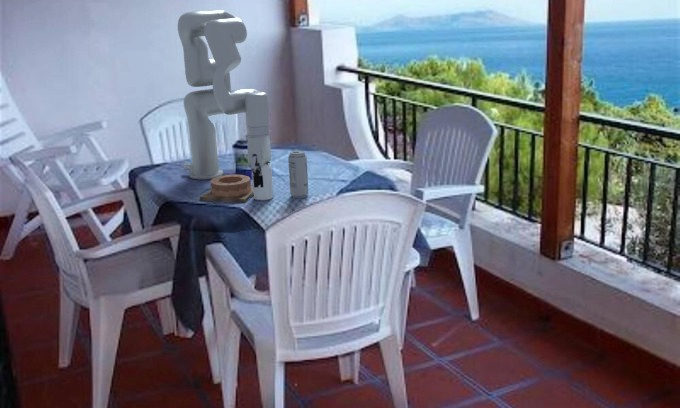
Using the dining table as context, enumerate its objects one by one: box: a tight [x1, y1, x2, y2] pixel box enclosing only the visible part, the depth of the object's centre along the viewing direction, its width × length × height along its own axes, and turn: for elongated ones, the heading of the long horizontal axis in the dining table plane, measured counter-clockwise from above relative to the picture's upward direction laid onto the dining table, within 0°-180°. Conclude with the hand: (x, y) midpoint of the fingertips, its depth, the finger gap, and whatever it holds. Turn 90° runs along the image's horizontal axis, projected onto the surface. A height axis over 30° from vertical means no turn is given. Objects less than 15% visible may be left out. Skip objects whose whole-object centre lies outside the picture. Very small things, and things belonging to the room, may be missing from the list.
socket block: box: [199, 174, 254, 203], centre depth 247 cm, size 16×16×5 cm
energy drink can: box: [287, 150, 309, 199], centre depth 242 cm, size 6×6×15 cm
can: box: [251, 161, 274, 202], centre depth 241 cm, size 6×6×12 cm
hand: (262, 183), depth 242 cm, fingers closed on can, 5 cm apart
